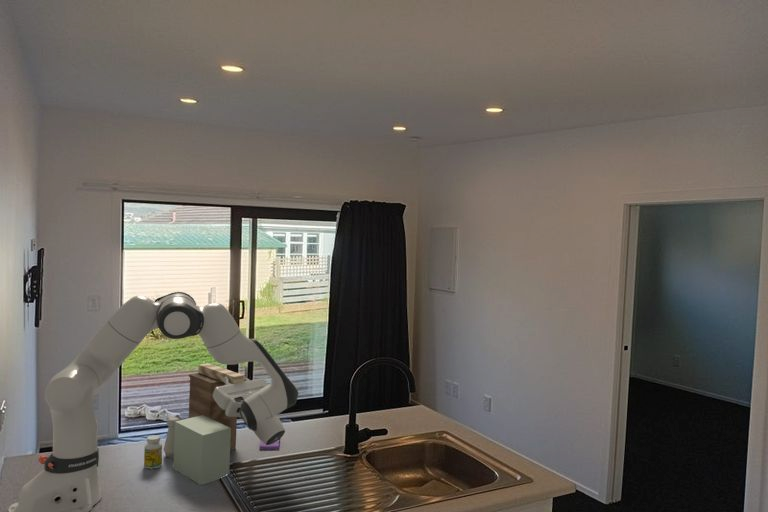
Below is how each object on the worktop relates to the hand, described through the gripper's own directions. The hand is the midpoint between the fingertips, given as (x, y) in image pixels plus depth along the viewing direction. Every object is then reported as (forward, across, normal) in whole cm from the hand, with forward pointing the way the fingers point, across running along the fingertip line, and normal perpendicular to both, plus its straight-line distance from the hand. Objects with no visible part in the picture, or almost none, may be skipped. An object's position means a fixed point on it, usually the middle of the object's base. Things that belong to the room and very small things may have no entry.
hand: (232, 376), depth 193 cm
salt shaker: (-3, +14, +31) cm, 34 cm away
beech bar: (+5, 0, +5) cm, 7 cm away
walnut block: (-4, 0, +30) cm, 30 cm away
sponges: (-14, -18, +25) cm, 34 cm away
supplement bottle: (-6, +23, +29) cm, 38 cm away
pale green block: (-18, +14, +22) cm, 32 cm away
